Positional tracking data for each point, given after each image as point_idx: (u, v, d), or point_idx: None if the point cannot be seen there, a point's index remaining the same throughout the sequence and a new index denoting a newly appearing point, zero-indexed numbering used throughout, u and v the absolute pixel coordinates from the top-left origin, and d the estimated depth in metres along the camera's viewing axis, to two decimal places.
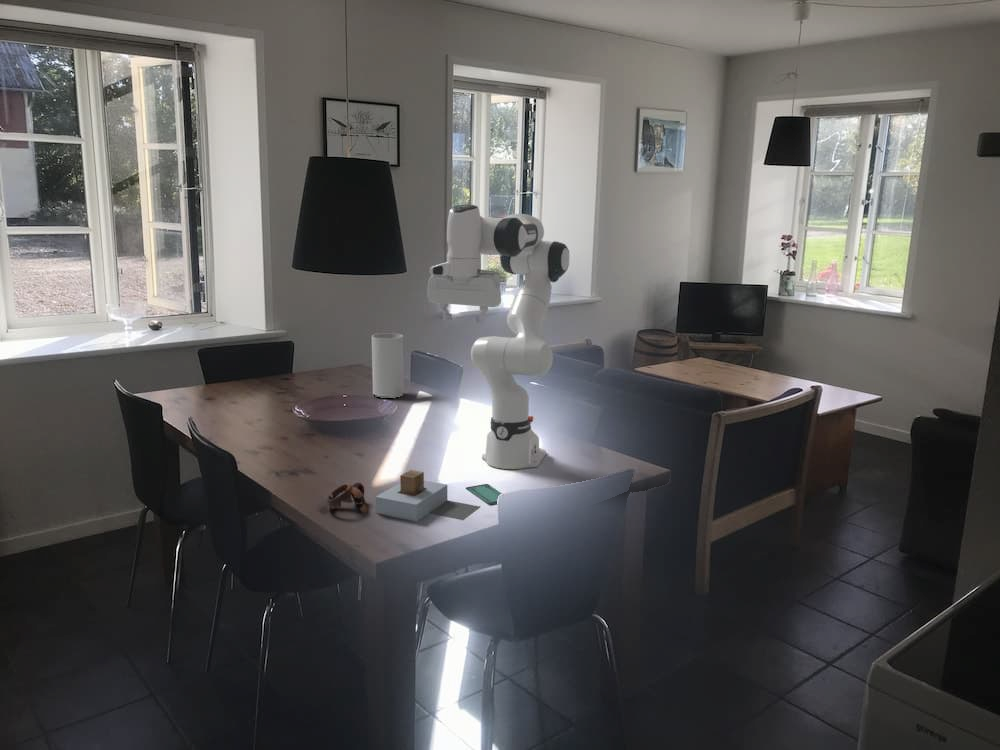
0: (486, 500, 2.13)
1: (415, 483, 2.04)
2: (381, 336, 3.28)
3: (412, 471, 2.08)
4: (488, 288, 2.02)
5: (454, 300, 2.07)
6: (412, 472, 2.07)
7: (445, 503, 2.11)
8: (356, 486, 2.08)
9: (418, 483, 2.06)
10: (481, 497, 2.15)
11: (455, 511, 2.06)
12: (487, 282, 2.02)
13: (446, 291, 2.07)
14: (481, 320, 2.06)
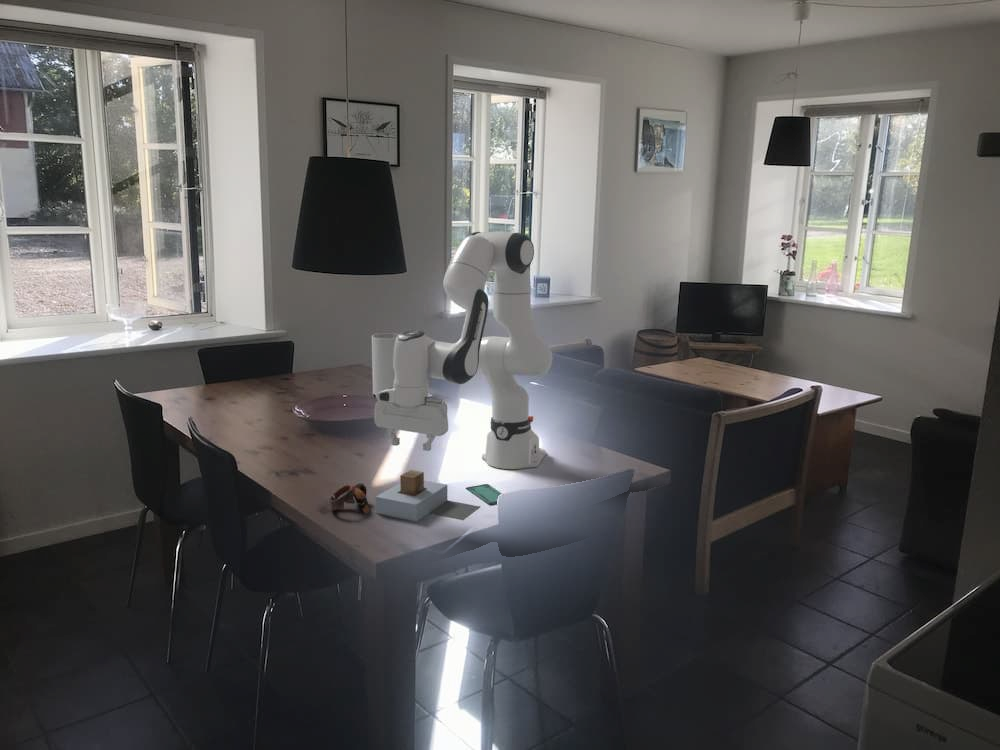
0: (486, 500, 2.13)
1: (415, 483, 2.04)
2: (381, 336, 3.28)
3: (412, 471, 2.08)
4: (435, 417, 1.98)
5: (401, 426, 2.03)
6: (412, 472, 2.07)
7: (445, 503, 2.11)
8: (358, 487, 2.08)
9: (418, 483, 2.06)
10: (481, 497, 2.15)
11: (455, 511, 2.06)
12: (433, 412, 1.98)
13: (393, 416, 2.03)
14: (428, 447, 2.02)
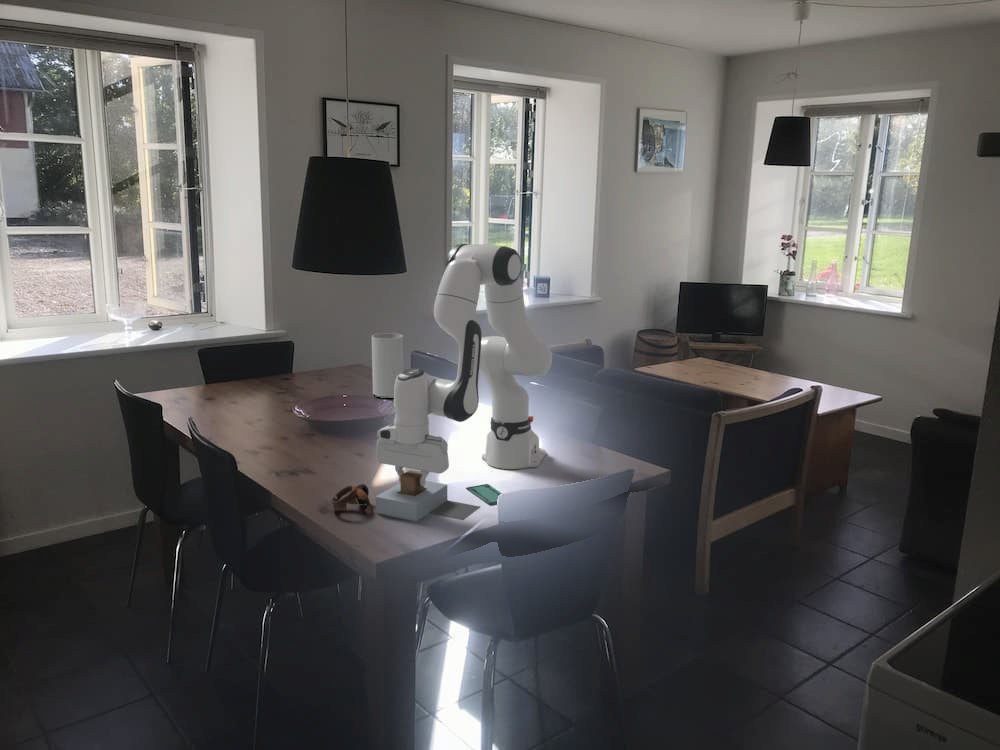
0: (486, 500, 2.13)
1: (415, 483, 2.04)
2: (381, 336, 3.28)
3: (412, 471, 2.08)
4: (435, 455, 2.00)
5: (402, 463, 2.05)
6: (412, 472, 2.07)
7: (445, 503, 2.11)
8: (360, 487, 2.08)
9: None
10: (481, 497, 2.15)
11: (455, 511, 2.06)
12: (434, 450, 2.00)
13: (394, 453, 2.06)
14: (422, 483, 2.05)
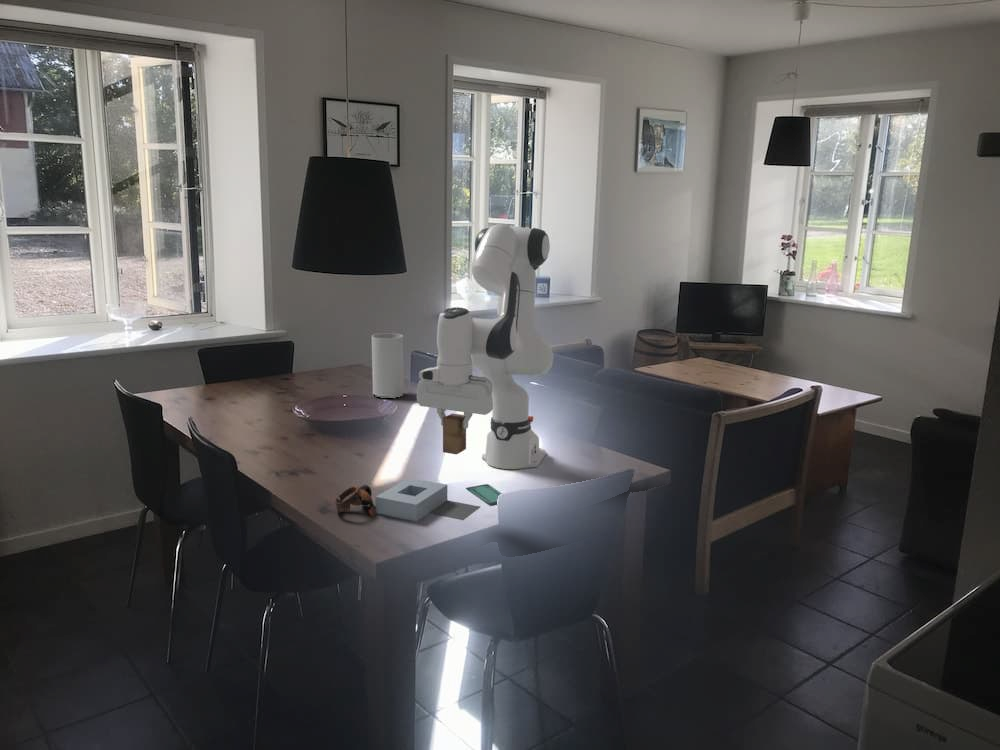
0: (486, 500, 2.13)
1: (458, 426, 1.99)
2: (381, 336, 3.28)
3: (454, 414, 2.03)
4: (480, 396, 1.95)
5: (444, 405, 2.00)
6: (455, 415, 2.02)
7: (445, 503, 2.11)
8: (363, 488, 2.07)
9: None
10: (481, 497, 2.15)
11: (455, 511, 2.06)
12: (478, 390, 1.95)
13: (436, 395, 2.00)
14: (465, 425, 2.00)
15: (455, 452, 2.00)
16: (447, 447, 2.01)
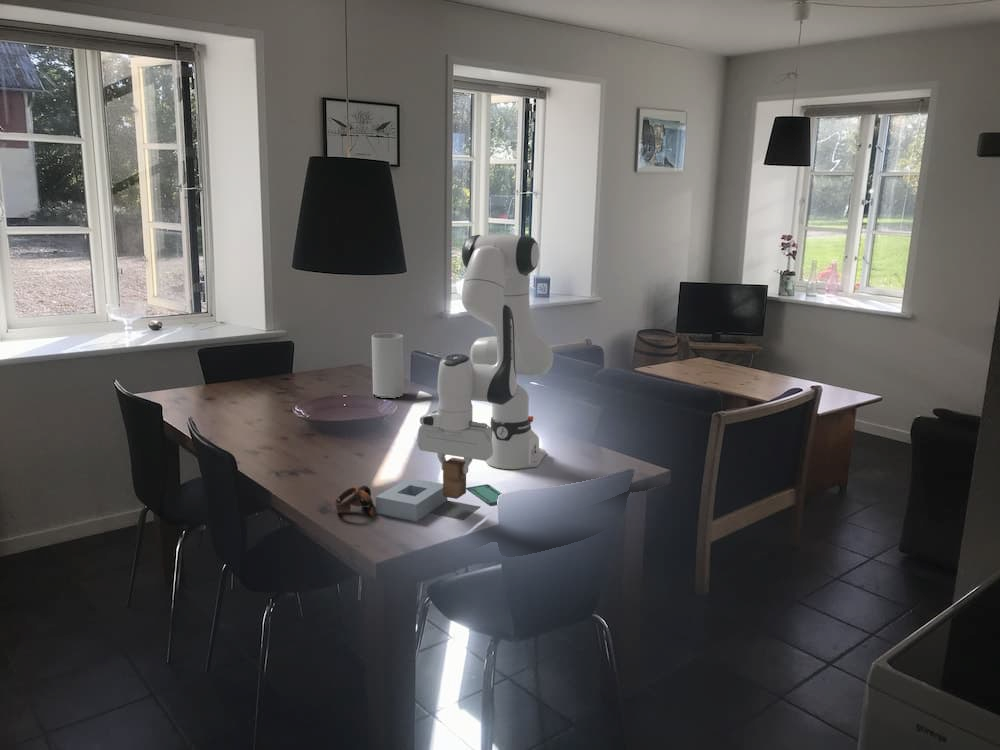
0: (486, 500, 2.13)
1: (458, 471, 2.01)
2: (381, 336, 3.28)
3: (454, 459, 2.05)
4: (480, 442, 1.97)
5: (445, 450, 2.02)
6: (455, 460, 2.04)
7: (445, 503, 2.11)
8: (363, 489, 2.06)
9: None
10: (481, 497, 2.15)
11: (455, 511, 2.06)
12: (478, 436, 1.97)
13: (437, 440, 2.03)
14: (465, 470, 2.02)
15: (455, 497, 2.02)
16: (447, 491, 2.03)
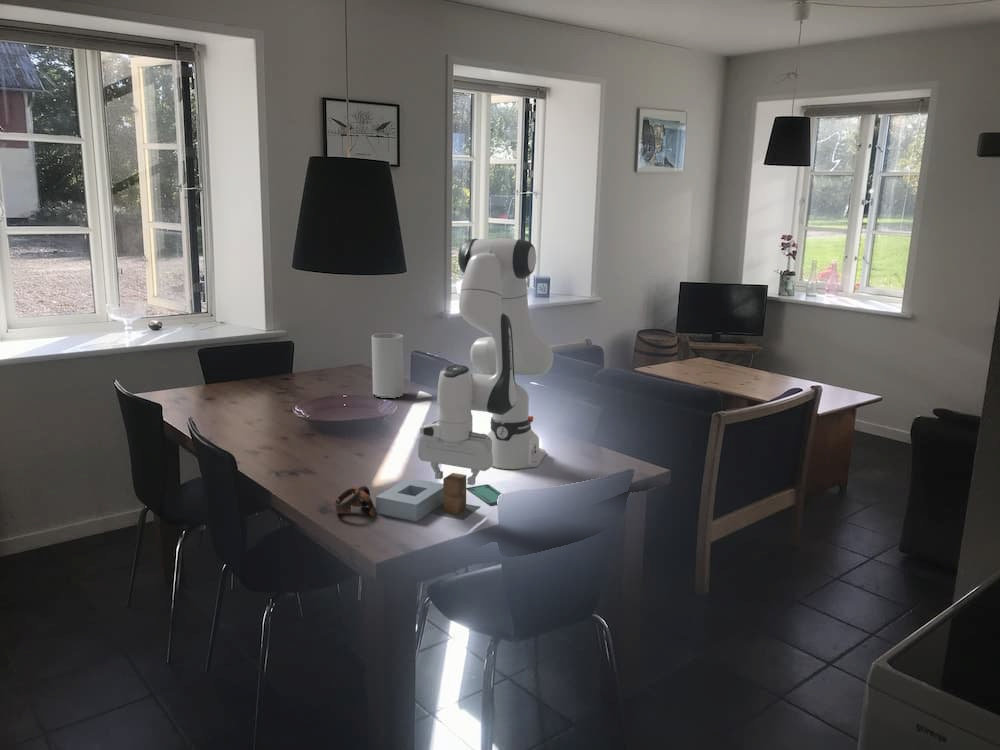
0: (487, 500, 2.13)
1: (458, 487, 2.03)
2: (381, 336, 3.28)
3: (454, 474, 2.06)
4: (480, 453, 1.98)
5: (445, 461, 2.03)
6: (455, 475, 2.06)
7: None
8: (362, 489, 2.06)
9: (461, 486, 2.04)
10: (482, 497, 2.15)
11: None
12: (478, 447, 1.98)
13: (437, 451, 2.03)
14: (472, 482, 2.02)
15: (455, 512, 2.04)
16: (447, 507, 2.04)
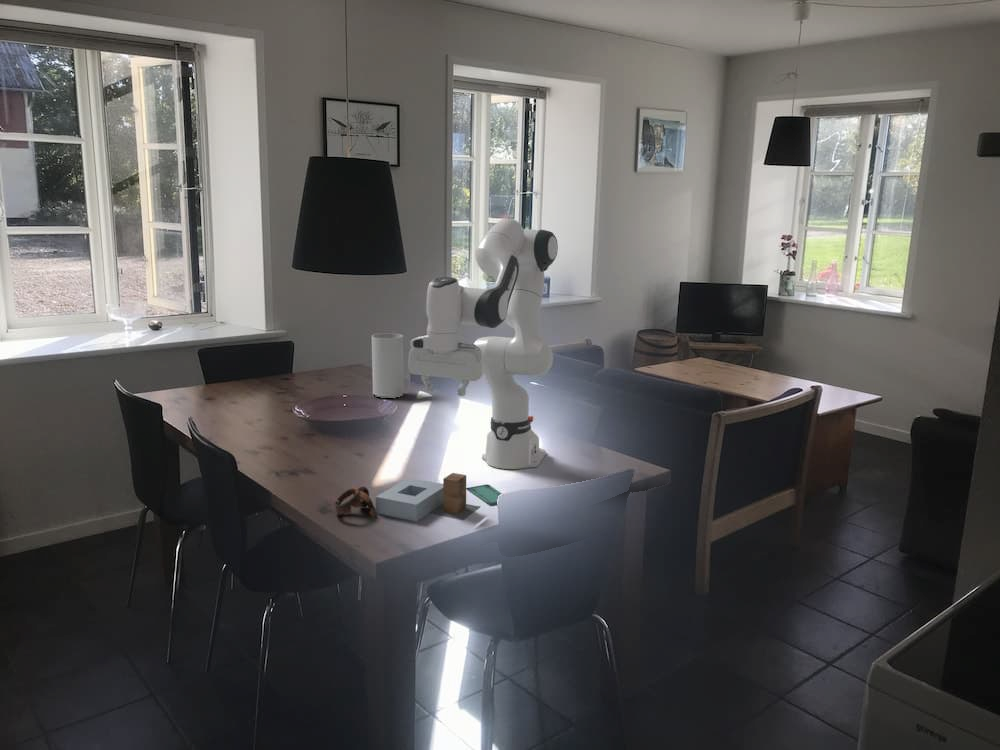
0: (487, 501, 2.13)
1: (458, 487, 2.03)
2: (381, 336, 3.28)
3: (454, 474, 2.06)
4: (469, 363, 2.01)
5: (435, 373, 2.06)
6: (455, 475, 2.06)
7: None
8: (362, 490, 2.06)
9: (461, 486, 2.04)
10: (482, 498, 2.15)
11: None
12: (468, 357, 2.01)
13: (427, 363, 2.06)
14: (463, 393, 2.05)
15: (455, 512, 2.04)
16: (447, 507, 2.04)
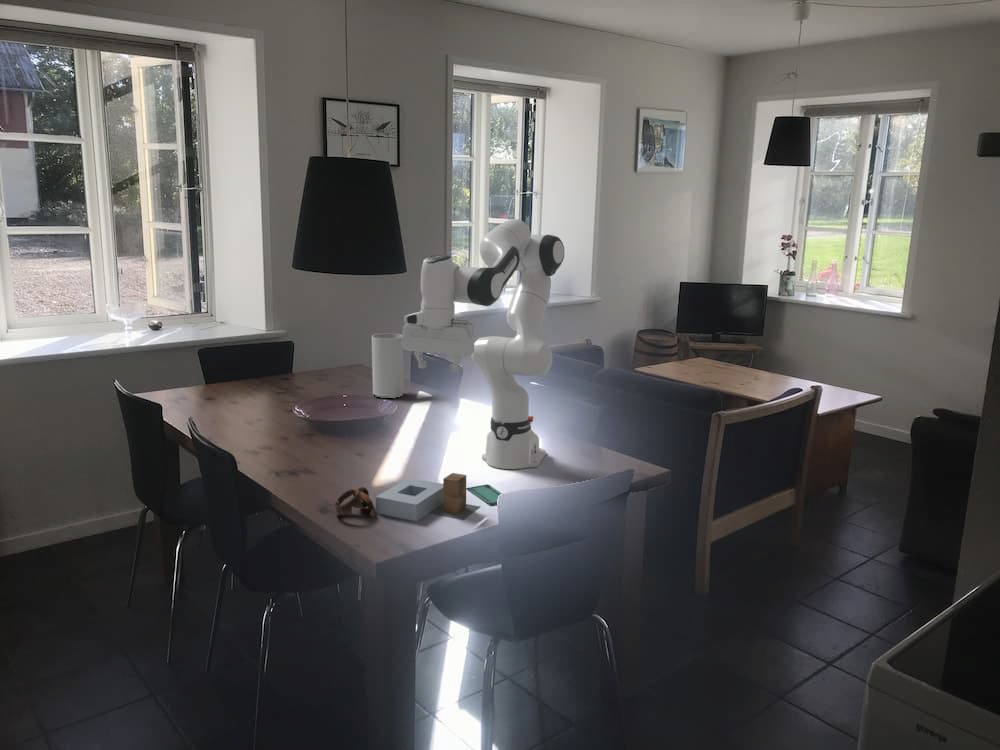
0: (487, 501, 2.13)
1: (458, 487, 2.03)
2: (381, 336, 3.28)
3: (454, 474, 2.06)
4: (461, 338, 2.04)
5: (428, 348, 2.09)
6: (455, 475, 2.06)
7: None
8: (362, 491, 2.05)
9: (461, 486, 2.04)
10: (482, 498, 2.15)
11: None
12: (460, 332, 2.04)
13: (420, 339, 2.10)
14: (455, 368, 2.08)
15: (455, 512, 2.04)
16: (447, 507, 2.04)
